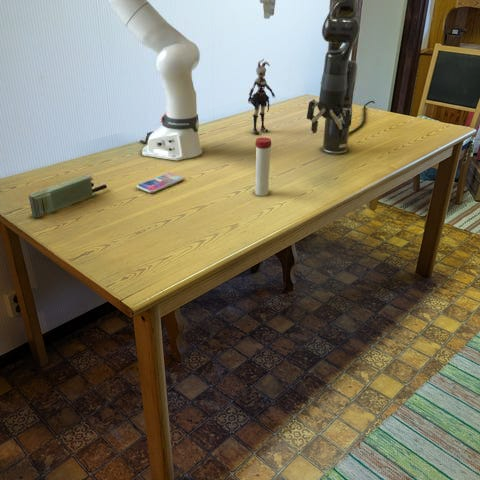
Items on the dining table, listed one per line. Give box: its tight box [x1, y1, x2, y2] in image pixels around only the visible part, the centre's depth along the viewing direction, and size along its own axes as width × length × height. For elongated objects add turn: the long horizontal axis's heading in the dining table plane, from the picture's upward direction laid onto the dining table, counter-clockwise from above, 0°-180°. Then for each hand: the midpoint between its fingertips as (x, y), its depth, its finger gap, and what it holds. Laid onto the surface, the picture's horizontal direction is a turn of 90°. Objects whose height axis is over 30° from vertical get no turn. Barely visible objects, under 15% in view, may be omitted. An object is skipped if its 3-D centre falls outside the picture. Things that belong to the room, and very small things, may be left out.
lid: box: [255, 137, 272, 148], centre depth 151 cm, size 5×5×2 cm
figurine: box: [247, 58, 276, 135], centre depth 206 cm, size 15×6×30 cm, turn 132°
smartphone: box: [136, 172, 184, 194], centre depth 164 cm, size 7×1×15 cm
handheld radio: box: [28, 173, 108, 219], centre depth 150 cm, size 7×3×25 cm
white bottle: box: [254, 146, 271, 197], centre depth 155 cm, size 4×4×17 cm
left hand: (268, 16), depth 163 cm, fingers open, 8 cm apart
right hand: (326, 135), depth 165 cm, fingers open, 8 cm apart
